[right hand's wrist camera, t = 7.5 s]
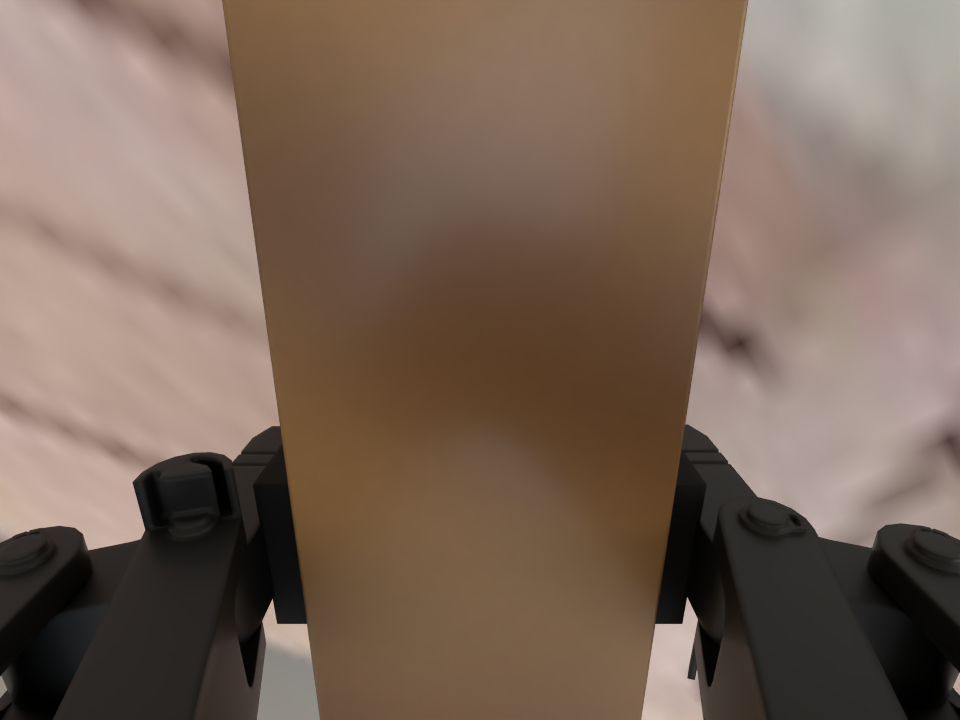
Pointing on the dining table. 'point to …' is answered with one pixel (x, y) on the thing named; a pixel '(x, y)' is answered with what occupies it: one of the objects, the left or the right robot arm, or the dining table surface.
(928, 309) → the dining table surface
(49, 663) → the right robot arm
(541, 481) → the post
